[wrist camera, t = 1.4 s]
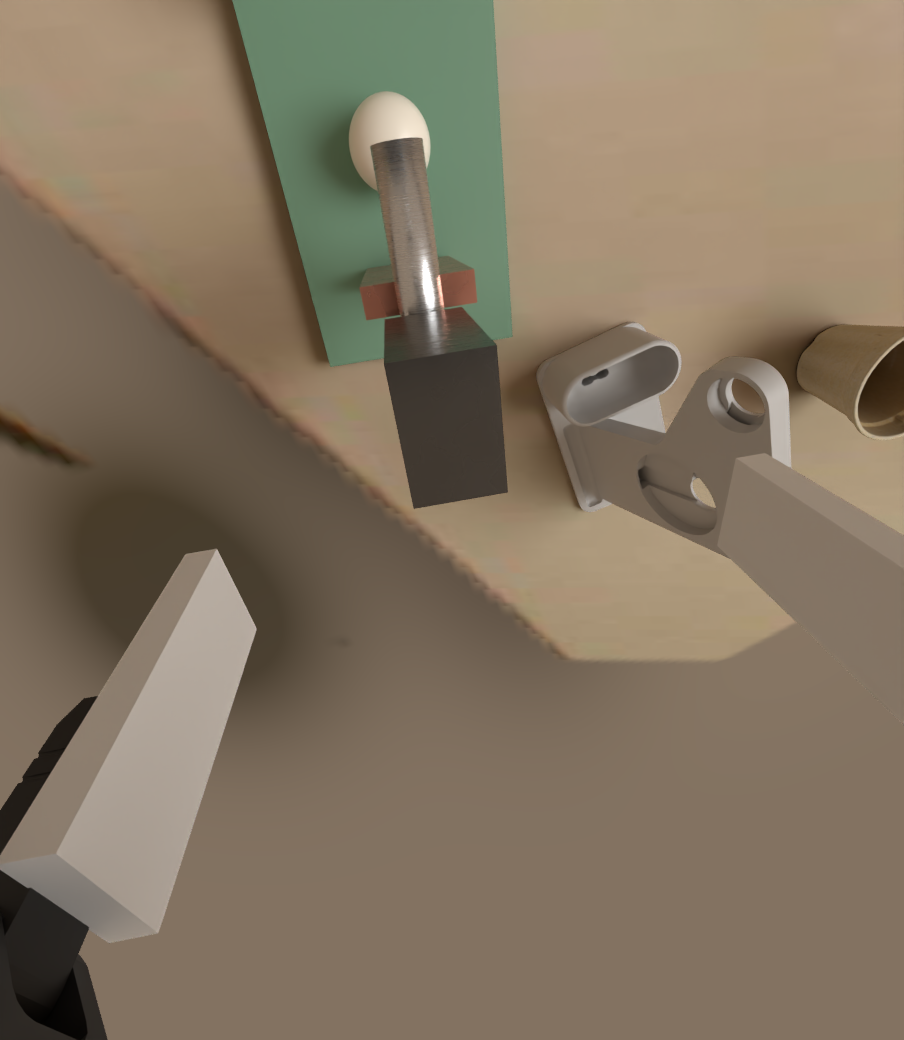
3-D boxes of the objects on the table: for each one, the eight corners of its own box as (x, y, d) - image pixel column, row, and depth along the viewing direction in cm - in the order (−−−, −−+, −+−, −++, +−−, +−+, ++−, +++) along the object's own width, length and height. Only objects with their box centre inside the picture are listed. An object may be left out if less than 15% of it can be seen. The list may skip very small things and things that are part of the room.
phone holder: (530, 362, 41) (614, 443, 26) (641, 310, 40) (795, 363, 25) (581, 512, 51) (664, 635, 35) (672, 473, 49) (799, 584, 34)
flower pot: (867, 279, 41) (971, 291, 34) (888, 363, 45) (983, 389, 38) (765, 352, 43) (842, 378, 36) (794, 425, 48) (867, 461, 41)
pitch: (158, -295, 22) (99, -429, 18) (467, -332, 23) (487, -472, 18) (332, 362, 39) (325, 380, 35) (508, 333, 40) (524, 347, 35)
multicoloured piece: (348, 175, 31) (292, 104, 13) (437, 162, 31) (512, 72, 13) (388, 371, 38) (390, 512, 20) (460, 359, 38) (531, 488, 20)
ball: (364, 84, 29) (360, 61, 25) (438, 125, 31) (446, 110, 27) (342, 175, 32) (335, 168, 27) (412, 210, 33) (416, 208, 29)
